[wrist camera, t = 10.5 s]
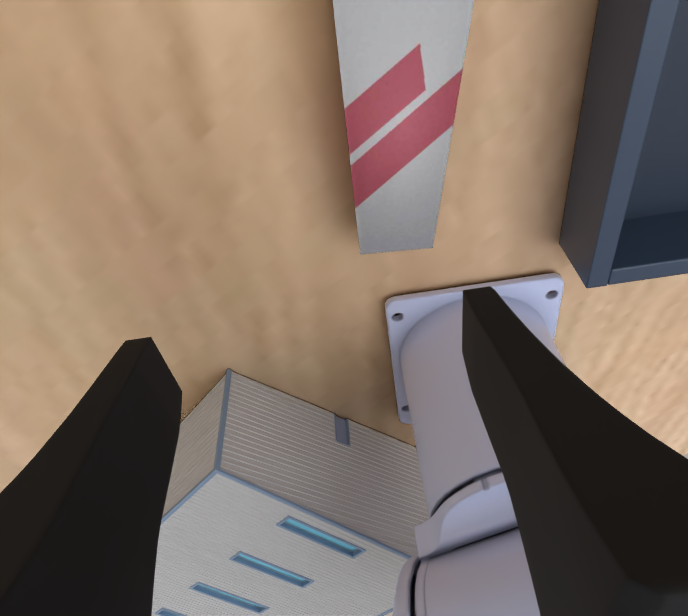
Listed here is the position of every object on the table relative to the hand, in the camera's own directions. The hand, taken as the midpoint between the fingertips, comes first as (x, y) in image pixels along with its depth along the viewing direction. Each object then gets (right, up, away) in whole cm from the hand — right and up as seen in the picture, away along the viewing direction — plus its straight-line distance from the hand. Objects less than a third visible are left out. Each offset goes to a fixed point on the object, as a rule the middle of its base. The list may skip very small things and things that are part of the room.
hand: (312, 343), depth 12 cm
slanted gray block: (-9, -14, +25) cm, 30 cm away
